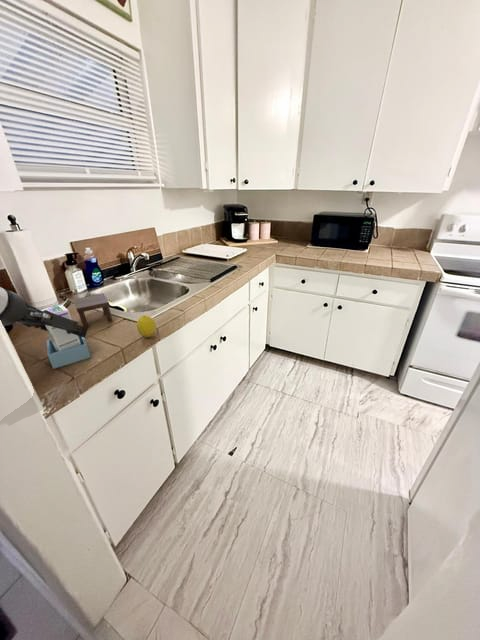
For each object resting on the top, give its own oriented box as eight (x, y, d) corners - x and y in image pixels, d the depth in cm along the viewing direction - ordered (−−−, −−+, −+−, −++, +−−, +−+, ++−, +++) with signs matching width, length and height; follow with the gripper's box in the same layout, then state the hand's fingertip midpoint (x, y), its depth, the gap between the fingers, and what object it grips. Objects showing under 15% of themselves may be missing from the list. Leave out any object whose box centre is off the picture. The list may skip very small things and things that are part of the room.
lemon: (160, 334, 87) (157, 313, 83) (149, 343, 82) (144, 321, 79) (147, 331, 89) (143, 310, 85) (135, 339, 84) (130, 317, 81)
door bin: (51, 352, 78) (46, 340, 76) (86, 343, 82) (82, 331, 80) (53, 368, 71) (47, 355, 69) (90, 357, 76) (86, 344, 74)
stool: (79, 318, 97) (73, 299, 94) (108, 311, 102) (103, 293, 99) (83, 329, 90) (76, 308, 86) (113, 321, 95) (108, 301, 91)
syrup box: (84, 353, 77) (69, 308, 70) (62, 362, 73) (44, 316, 66) (77, 346, 80) (62, 303, 73) (55, 354, 76) (37, 309, 69)
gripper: (41, 291, 55) (107, 322, 76) (-37, 285, 58) (47, 317, 80) (29, 325, 53) (100, 347, 74) (-52, 317, 56) (39, 340, 77)
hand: (73, 331), depth 77 cm, fingers closed on syrup box, 7 cm apart
